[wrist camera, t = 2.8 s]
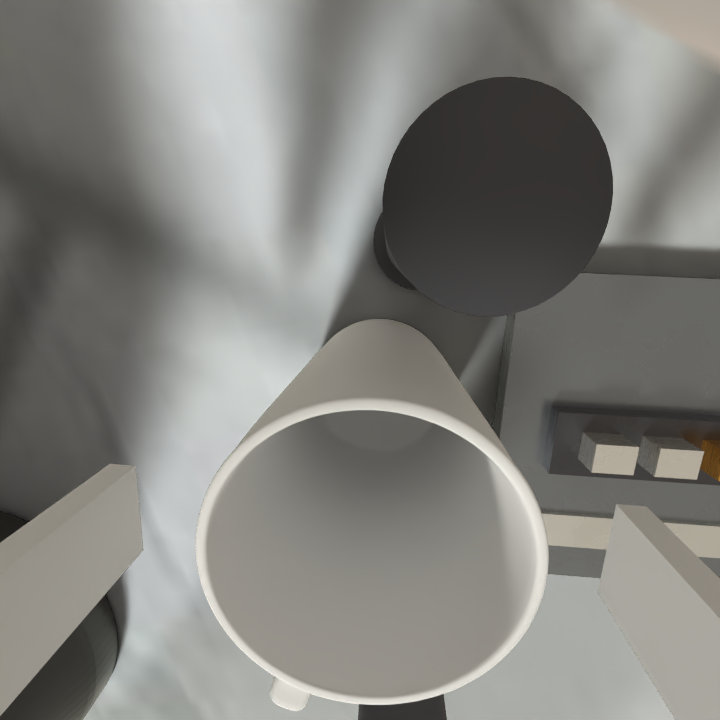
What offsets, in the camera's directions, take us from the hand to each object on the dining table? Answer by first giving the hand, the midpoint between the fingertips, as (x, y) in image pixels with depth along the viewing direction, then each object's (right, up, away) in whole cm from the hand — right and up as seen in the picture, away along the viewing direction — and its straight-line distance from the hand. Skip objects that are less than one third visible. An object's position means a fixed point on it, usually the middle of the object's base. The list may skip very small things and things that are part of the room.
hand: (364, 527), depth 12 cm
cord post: (+2, +10, +6) cm, 12 cm away
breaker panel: (+14, +1, +8) cm, 16 cm away
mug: (0, +2, +9) cm, 9 cm away
